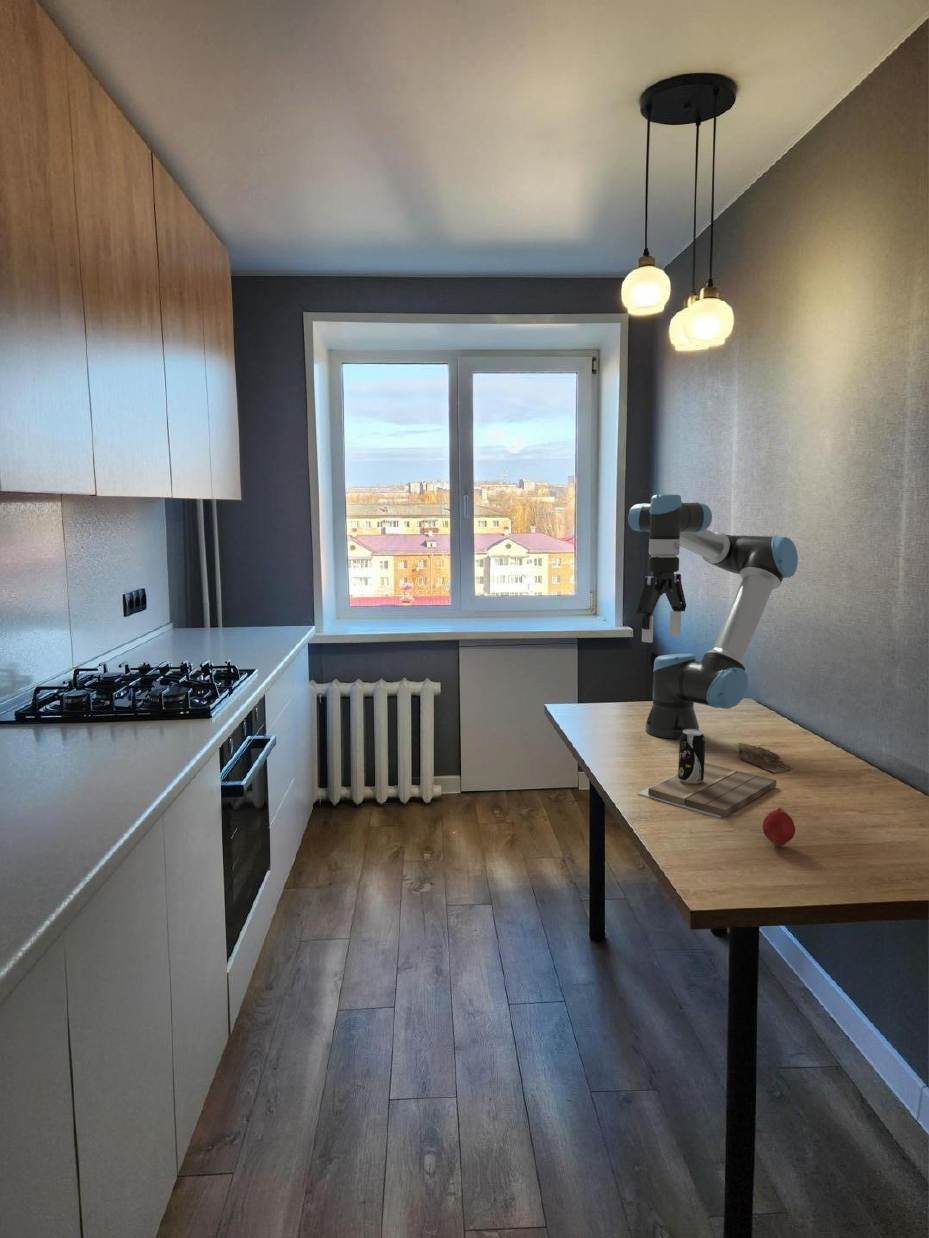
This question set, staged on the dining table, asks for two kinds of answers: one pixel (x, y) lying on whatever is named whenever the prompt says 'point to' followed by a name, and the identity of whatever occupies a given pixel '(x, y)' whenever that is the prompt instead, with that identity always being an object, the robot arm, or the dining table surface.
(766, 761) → the wooden fragment
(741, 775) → the laid board
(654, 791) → the plank
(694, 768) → the beverage can
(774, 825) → the pomegranate
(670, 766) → the dining table surface
